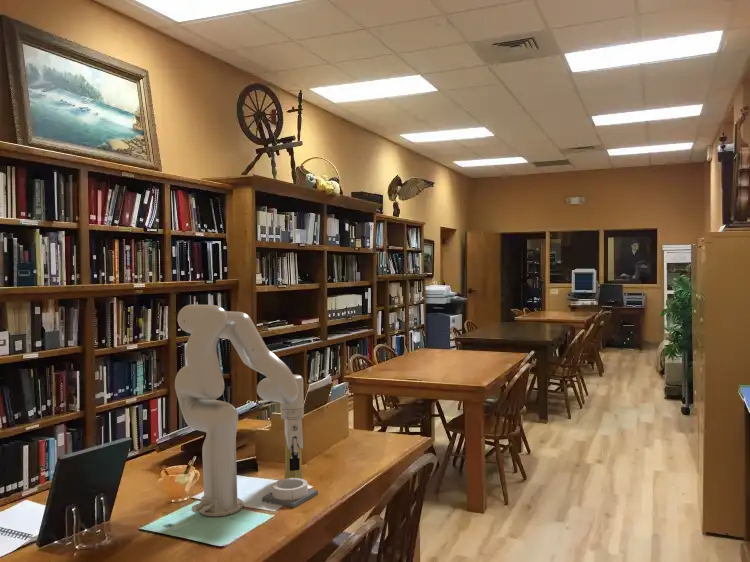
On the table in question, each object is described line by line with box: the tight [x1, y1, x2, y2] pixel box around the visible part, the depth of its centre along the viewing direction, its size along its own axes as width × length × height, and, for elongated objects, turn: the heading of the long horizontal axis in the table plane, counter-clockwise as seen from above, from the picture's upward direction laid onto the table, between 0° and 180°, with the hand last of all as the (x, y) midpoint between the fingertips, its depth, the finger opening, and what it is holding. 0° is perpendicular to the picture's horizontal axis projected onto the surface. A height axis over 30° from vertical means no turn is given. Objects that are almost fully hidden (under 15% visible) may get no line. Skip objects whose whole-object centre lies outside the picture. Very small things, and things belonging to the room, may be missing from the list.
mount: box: [261, 478, 319, 509], centre depth 190 cm, size 12×12×4 cm
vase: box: [283, 435, 304, 479], centre depth 206 cm, size 6×6×14 cm
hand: (293, 466), depth 206 cm, fingers closed on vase, 5 cm apart
